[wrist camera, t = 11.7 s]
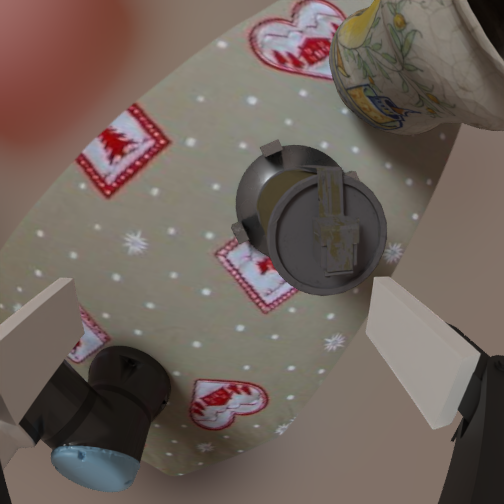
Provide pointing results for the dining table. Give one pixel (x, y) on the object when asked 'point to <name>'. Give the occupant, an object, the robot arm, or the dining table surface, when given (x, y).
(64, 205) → the dining table surface
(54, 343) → the robot arm
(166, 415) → the dining table surface
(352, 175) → the flange
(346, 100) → the vase
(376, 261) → the canister
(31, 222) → the dining table surface
